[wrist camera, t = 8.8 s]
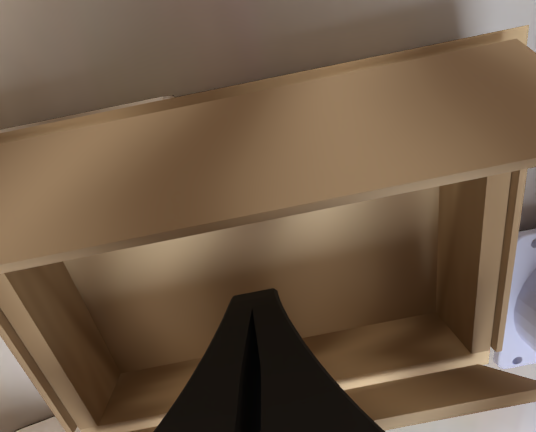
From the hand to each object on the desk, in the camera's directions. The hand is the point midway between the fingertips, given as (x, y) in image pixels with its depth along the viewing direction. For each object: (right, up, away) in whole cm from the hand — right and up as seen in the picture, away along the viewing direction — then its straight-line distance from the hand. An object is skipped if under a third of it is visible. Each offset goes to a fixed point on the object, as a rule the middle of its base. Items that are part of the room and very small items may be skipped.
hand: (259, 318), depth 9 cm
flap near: (-1, +4, -2) cm, 5 cm away
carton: (0, +2, +5) cm, 5 cm away
